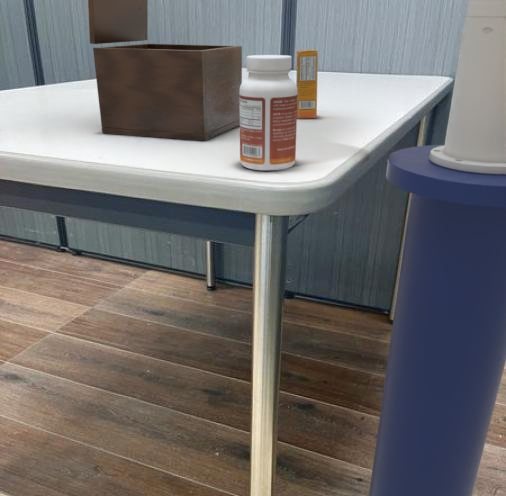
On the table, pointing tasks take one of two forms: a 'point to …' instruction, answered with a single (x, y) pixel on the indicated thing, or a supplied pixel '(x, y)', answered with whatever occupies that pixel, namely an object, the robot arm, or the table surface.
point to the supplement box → (307, 83)
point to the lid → (118, 21)
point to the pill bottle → (268, 114)
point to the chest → (169, 89)
